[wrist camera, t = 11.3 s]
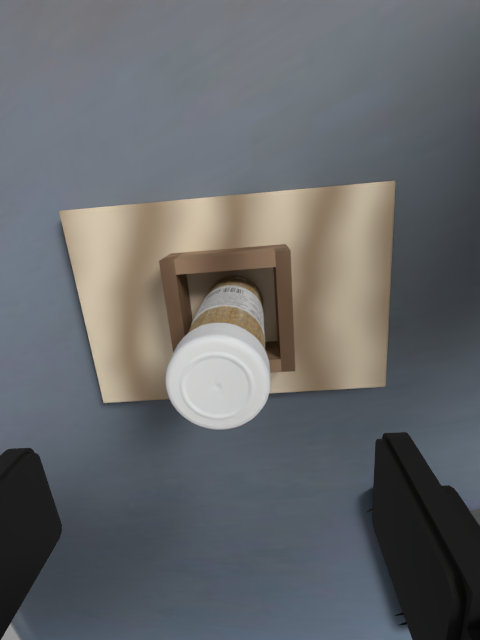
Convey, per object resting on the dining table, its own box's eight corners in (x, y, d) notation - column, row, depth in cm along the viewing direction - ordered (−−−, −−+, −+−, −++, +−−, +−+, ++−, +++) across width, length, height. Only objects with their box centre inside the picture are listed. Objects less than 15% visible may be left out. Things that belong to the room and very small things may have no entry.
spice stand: (387, 181, 26) (417, 177, 21) (379, 378, 31) (402, 410, 26) (69, 210, 27) (30, 212, 23) (110, 393, 32) (85, 427, 28)
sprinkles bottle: (203, 326, 28) (159, 426, 16) (208, 270, 27) (165, 329, 14) (260, 333, 28) (263, 440, 16) (268, 277, 27) (279, 344, 14)
